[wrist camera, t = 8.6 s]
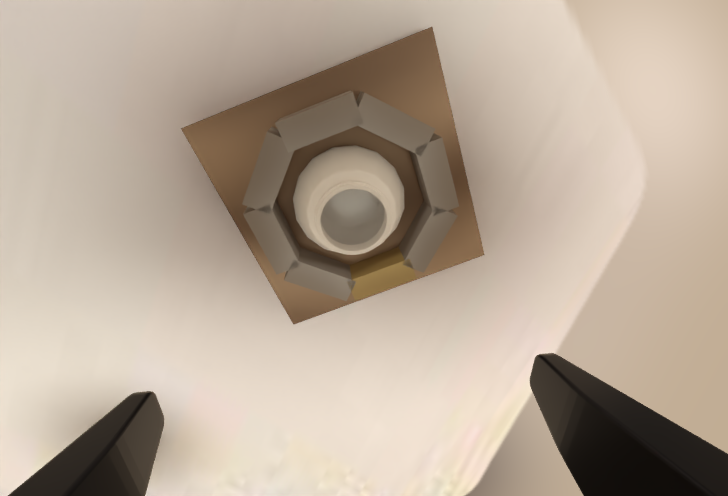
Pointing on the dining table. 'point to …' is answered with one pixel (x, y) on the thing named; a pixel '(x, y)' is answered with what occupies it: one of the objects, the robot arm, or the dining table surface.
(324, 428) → the dining table surface
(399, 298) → the dining table surface
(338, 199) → the white jar
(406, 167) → the hub plate
